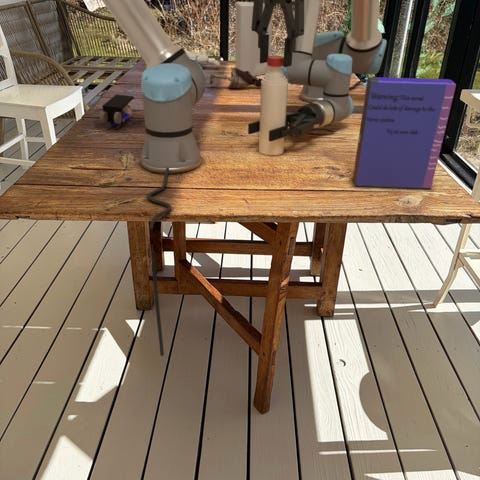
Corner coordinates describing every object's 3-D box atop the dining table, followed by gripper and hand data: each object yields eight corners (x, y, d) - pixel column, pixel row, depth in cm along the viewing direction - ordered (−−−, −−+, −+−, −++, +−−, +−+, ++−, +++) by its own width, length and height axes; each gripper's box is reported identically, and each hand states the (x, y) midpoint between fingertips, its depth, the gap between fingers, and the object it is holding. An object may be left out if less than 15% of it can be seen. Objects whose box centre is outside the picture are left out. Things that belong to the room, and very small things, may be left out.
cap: (268, 66, 118) (268, 58, 117) (266, 63, 122) (266, 55, 121) (285, 66, 118) (285, 58, 117) (282, 63, 122) (282, 55, 121)
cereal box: (425, 180, 115) (449, 78, 103) (430, 188, 111) (456, 83, 99) (352, 177, 116) (367, 76, 104) (355, 186, 112) (371, 81, 100)
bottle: (287, 149, 133) (293, 58, 121) (277, 157, 128) (282, 63, 115) (265, 144, 136) (269, 56, 123) (254, 152, 131) (257, 60, 118)
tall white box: (273, 76, 210) (276, 6, 196) (239, 77, 209) (240, 6, 194) (266, 67, 226) (268, 2, 212) (235, 67, 225) (235, 1, 210)
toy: (175, 75, 210) (174, 58, 206) (151, 64, 228) (150, 49, 224) (222, 69, 222) (222, 53, 218) (195, 59, 239) (195, 45, 236)
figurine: (210, 87, 179) (288, 95, 182) (212, 65, 176) (291, 73, 180) (208, 84, 201) (278, 91, 205) (210, 64, 198) (280, 71, 202)
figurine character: (122, 135, 144) (137, 116, 156) (118, 111, 140) (134, 93, 152) (101, 134, 145) (117, 115, 157) (96, 110, 140) (113, 92, 152)
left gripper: (236, -43, 110) (235, 61, 122) (309, -42, 101) (300, 72, 112) (255, -43, 116) (252, 57, 127) (326, -42, 106) (316, 67, 118)
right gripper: (340, 136, 135) (286, 156, 121) (287, 120, 147) (233, 136, 134) (343, 110, 131) (288, 127, 118) (289, 96, 143) (233, 110, 130)
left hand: (275, 64), depth 120 cm, fingers open, 6 cm apart
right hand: (259, 132), depth 126 cm, fingers closed on bottle, 7 cm apart
